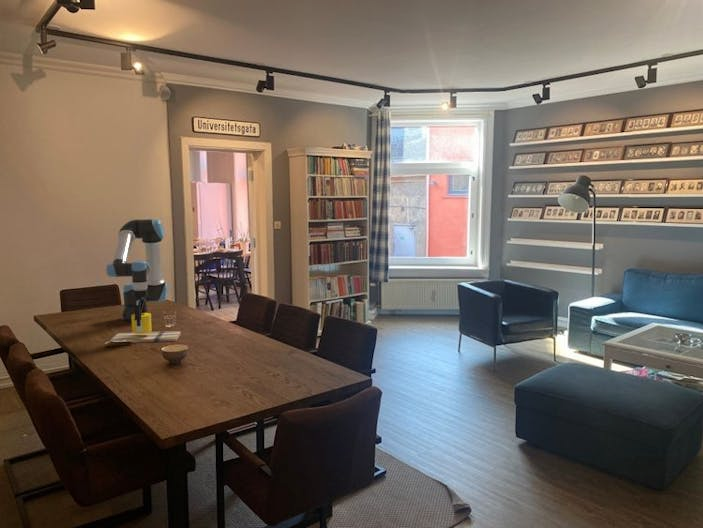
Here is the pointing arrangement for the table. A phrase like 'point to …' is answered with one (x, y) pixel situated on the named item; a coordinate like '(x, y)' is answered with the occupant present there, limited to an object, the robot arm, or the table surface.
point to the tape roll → (145, 323)
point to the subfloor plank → (148, 336)
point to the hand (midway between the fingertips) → (141, 329)
